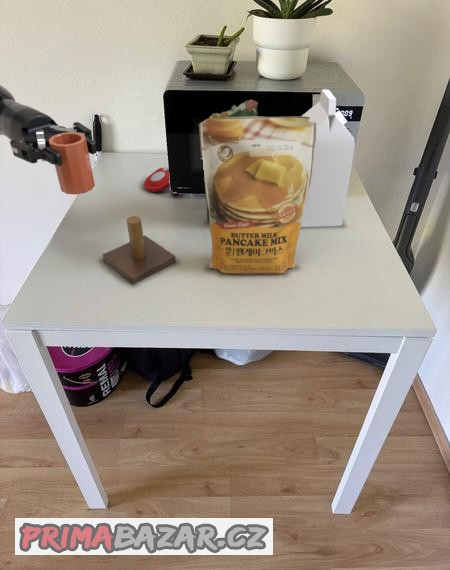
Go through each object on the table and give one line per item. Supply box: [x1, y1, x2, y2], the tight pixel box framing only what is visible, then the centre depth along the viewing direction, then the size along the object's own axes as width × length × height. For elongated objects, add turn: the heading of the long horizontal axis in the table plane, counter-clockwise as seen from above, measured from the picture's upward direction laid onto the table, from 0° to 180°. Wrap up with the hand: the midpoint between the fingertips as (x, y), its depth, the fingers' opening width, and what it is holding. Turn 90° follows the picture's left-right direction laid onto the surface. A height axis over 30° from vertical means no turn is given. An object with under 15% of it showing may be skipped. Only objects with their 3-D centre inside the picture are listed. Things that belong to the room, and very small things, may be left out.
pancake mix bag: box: [197, 115, 316, 275], centre depth 77 cm, size 7×19×28 cm, turn 91°
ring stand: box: [102, 215, 177, 285], centre depth 83 cm, size 10×10×10 cm
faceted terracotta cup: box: [49, 132, 96, 196], centre depth 78 cm, size 6×6×9 cm
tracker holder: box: [143, 166, 180, 195], centre depth 109 cm, size 12×4×10 cm
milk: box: [301, 89, 356, 228], centre depth 93 cm, size 12×12×26 cm
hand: (77, 154), depth 76 cm, fingers closed on faceted terracotta cup, 6 cm apart
